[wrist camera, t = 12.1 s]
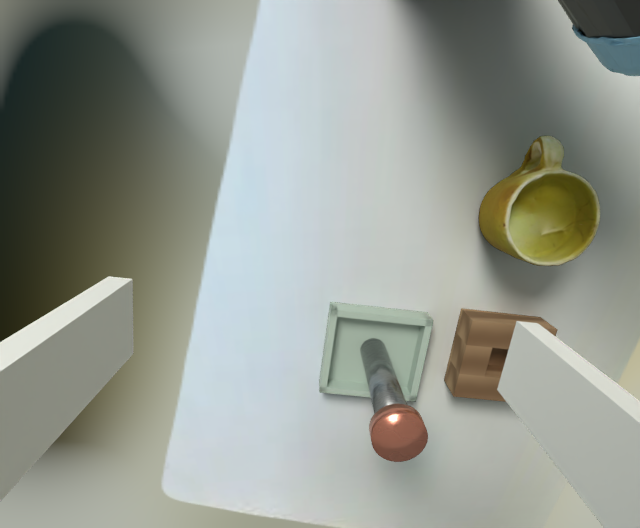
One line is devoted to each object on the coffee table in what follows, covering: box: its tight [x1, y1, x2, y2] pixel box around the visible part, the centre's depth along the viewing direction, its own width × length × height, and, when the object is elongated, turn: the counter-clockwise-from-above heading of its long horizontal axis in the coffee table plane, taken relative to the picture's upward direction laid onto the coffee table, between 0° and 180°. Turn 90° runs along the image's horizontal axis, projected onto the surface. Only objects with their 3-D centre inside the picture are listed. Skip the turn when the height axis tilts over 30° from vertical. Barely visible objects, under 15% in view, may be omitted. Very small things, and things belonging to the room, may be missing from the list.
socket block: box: [444, 309, 557, 402], centre depth 47 cm, size 10×10×4 cm
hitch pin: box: [360, 338, 428, 462], centre depth 41 cm, size 5×5×16 cm
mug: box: [479, 136, 600, 266], centre depth 40 cm, size 12×10×10 cm
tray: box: [319, 302, 433, 402], centre depth 48 cm, size 11×12×2 cm
